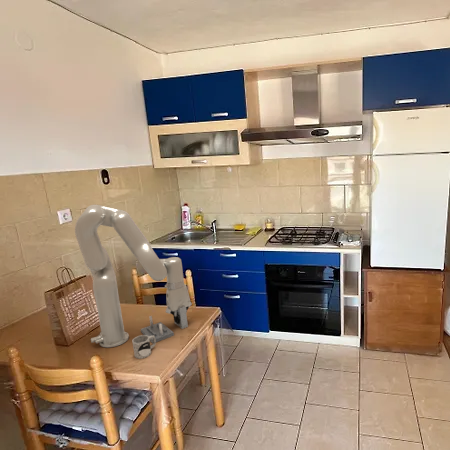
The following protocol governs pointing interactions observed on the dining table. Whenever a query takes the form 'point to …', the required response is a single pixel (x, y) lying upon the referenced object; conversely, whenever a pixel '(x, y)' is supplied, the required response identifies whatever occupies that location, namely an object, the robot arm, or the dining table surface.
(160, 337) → the grey peg stand
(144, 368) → the dining table surface
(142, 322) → the dining table surface
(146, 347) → the mug
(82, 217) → the robot arm
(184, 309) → the block
